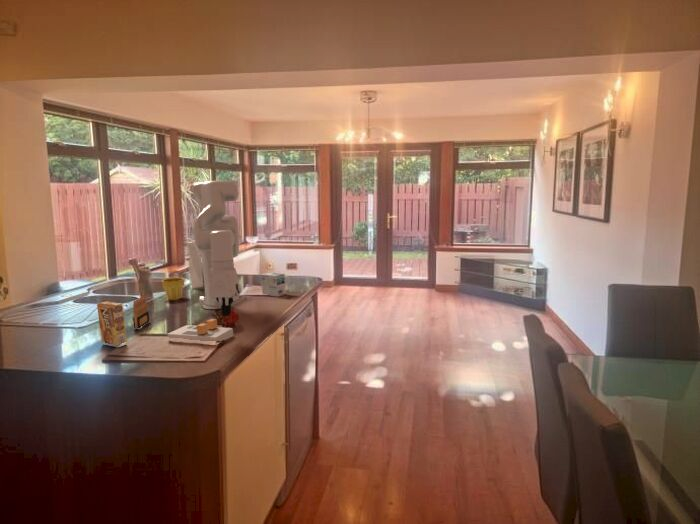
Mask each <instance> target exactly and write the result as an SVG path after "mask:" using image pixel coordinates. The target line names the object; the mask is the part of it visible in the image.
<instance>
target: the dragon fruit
mask: <svg viewBox="0 0 700 524" xmlns="http://www.w3.org/2000/svg"><path fill="white" fill-rule="evenodd" d="M215 314H216V315H215V318H214V319H217V326H218V327H223V328H234V327H236V324H237V323H238V321H239V318H240V315H239V313H238V311H237V310H236V309H233V308H232V307H231V315H229V316H222V309H221V310H219V311H217V312H216V313H215Z"/></svg>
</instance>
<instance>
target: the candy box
mask: <svg viewBox="0 0 700 524" xmlns="http://www.w3.org/2000/svg"><path fill="white" fill-rule="evenodd" d="M96 307H97V314H98V322H99V329H100V330H99V331H100V336H101V337H100V338H101V343H102V342H105V343H108V344H113V345H119V344H122V343H124V342H127V343H128V340H127V333H126V325H125V317H124V308H123V303H121V302H111V301H104V302H99V303H97V304H96Z"/></svg>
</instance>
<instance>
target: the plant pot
mask: <svg viewBox="0 0 700 524" xmlns="http://www.w3.org/2000/svg"><path fill="white" fill-rule="evenodd" d="M161 285H162V286H161V287H162V288H163V289H164V292H165V295H166V298H167V300H169V301H175V300H180V299H182V298H183V297H182V296H183V291H184V290H183V289H184V286H185V279H184V278H183V277H169V278H164V279H162V280H161Z"/></svg>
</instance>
